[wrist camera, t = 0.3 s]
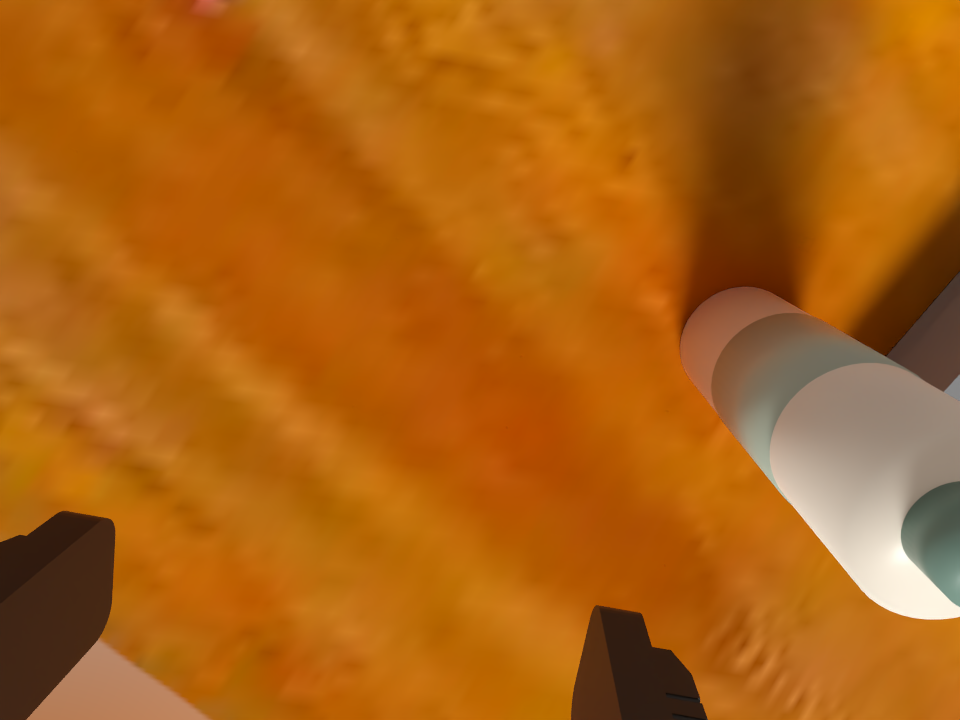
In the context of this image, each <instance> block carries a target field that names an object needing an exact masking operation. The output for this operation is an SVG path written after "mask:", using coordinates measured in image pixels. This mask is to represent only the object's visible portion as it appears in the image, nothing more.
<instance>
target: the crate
mask: <svg viewBox="0 0 960 720" xmlns="http://www.w3.org/2000/svg"><path fill="white" fill-rule="evenodd" d="M886 357H887V358H889V359H890V360H892V361H894V362H896V363H897V364H899V365H901V366H903V367H904V368H906V369H908V370H910V371H911V372H913V373H915V374H916V375H918V376H919V377H920V378H921V379H923V380H924V381H925V382H927V383H929V384H930V385H932V386H934V387H936V388H937V389H939V390H941V391H943V392H944V393H946V394H948V395H949V396H951V397H953V398H955V399H956V400H958V401H960V272H959V273H958V274H957V275H956V276H955V278H954V279H953V280H952V281H951V282H950V283H949V284H948V286H947V287H946V288H945V289H944V290H943V291H942V293H941V294H940V295H939V296H938V297H937V298H936V300H935V301H934V302H933V303H932V304H931V305H930V306H929V308H928V309H927V310H926V311H925V312H924V313H923V315H922V316H921V317H920V318H919V319H918V320H917V321H916V323H915V324H914V325H913V326H912V327H911V328H910V330H909V331H908V332H907V333H906V334H905V335H904V336H903V338H902V339H901V340H900V341H899V342H898V343H897V345H896V346H895V347H894V348H893V349H892V350H891V351H890V353H889V354H888V355H887V356H886Z"/></svg>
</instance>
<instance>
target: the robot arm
mask: <svg viewBox="0 0 960 720" xmlns="http://www.w3.org/2000/svg"><path fill="white" fill-rule="evenodd" d="M114 549H115V526H114V523H113V522H112V520H111V519H108V518H103V517H97V516H91V515H86V514H80V513H74V512H68V511H62V512H59V513H57V514H56V515H54V516H53V517H52V518H50V519H49V520H48V521H46V522H45V523H44V524H42V525H41V526H39V527H38V528H37V529H35V530H34V531H33V532H31V533H30V534H28V535H27V536H23V535H18V536H16V537H13V538H10V539H8V540H5V541H3V542H0V720H26V719H27V718H28V717H29V716H30V715H31V714H32V712H33V711H34V710H35V709H36V708H37V707H38V706H39V705H40V704H41V702H42V701H43V700H44V699H45V698H46V697H47V696H48V695H49V694H50V693H51V691H52V690H53V689H54V688H55V687H56V686H57V685H58V684H59V682H61V680H62V679H63V678H64V677H65V676H66V675H67V674H68V673H69V672H70V670H71V669H72V668H73V667H74V666H75V665H76V664H77V663H78V662H79V660H80V659H81V658H82V657H83V656H84V655H85V654H86V653H87V652H88V650H89V649H90V648H91V647H92V646H93V645H94V644H95V643H96V641H97V640H98V638H99V637H100V635H101V634H102V632H103V630H104V628H105V625H106V623H107V620H108V617H109V614H110V610H111V604H112V589H113V569H114ZM571 720H708V719H707V716H706V713H705V711H704V708H703V705H702V704H701V703H700V697H699V694H698V691H697V688H696V686H695V683H694V680H693V677H692V675H691V673H690V672H689V671H688V670H687V668H686V667H685V666H684V665H683V664H682V663H681V662H680V660H679V659H678V658H677V657H676V656H675V655H674V653H673V652H672V651H671V650H666V649H660V648H655V647H652V646H651V642H650V639H649V636H648V632H647V629H646V626H645V622H644V619H643V616H642V614H641V613H638V612H632V611H627V610H621V609H615V608H610V607H604V606H598V605H596V606H595V607H594V609H593V611H592V614H591V618H590V622H589V626H588V630H587V634H586V639H585V643H584V647H583V652H582V656H581V660H580V664H579V669H578V673H577V677H576V682H575V686H574V692H573V699H572V711H571Z"/></svg>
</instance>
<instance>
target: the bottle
mask: <svg viewBox="0 0 960 720" xmlns="http://www.w3.org/2000/svg"><path fill="white" fill-rule="evenodd" d="M680 357H681V362H682V365H683V368H684V370H685V372H686V374H687V376H688V377H689V379H690V380H691V381H692V383H693V384H694V385H695V386H696V388H697V389H698V390H699V391H700V392H701V394H702V395H703V396H704V397H705V399H706V400H707V401H708V402H709V404H710V405H711V406H712V407H713V408H714V410H715V411H716V412H717V413H718V415H719V417H720V418H721V420H722V421H723V423H724V424H725V425H726V426H727V428H728V429H729V430H730V431H731V433H732V434H733V435H734V436H735V438H736V439H737V440H738V441H739V442H740V444H741V445H742V446H743V447H744V449H745V450H746V451H747V452H748V454H749V455H750V456H751V457H752V458H753V460H754V461H755V462H756V463H757V465H758V466H759V467H760V468H761V470H762V471H763V472H764V473H765V475H766V476H767V477H768V478H769V479H770V481H771V482H772V483H773V484H774V486H775V487H776V488H777V489H778V491H779V492H780V493H781V494H782V496H783V497H784V498H785V499H786V500H787V501H788V502H789V503H790V504H792V505H793V507H794V508H795V509H796V510H797V511H798V513H799V514H800V515H801V516H802V518H803V519H804V520H805V521H806V522H807V524H808V525H809V526H810V527H811V529H812V530H813V531H814V532H815V533H816V535H817V536H818V537H819V538H820V540H821V541H822V542H823V543H824V545H825V546H826V547H827V548H828V549H829V551H830V552H831V553H832V554H833V556H834V557H835V558H836V559H837V560H838V562H839V563H840V564H841V565H842V567H843V568H844V569H845V570H846V572H847V573H848V574H849V575H850V576H851V578H852V579H853V580H854V581H855V583H856V584H857V585H858V586H859V587H860V589H861V590H862V591H863V592H864V593H865V594H866V595H867V596H868V597H869V598H870V599H872V600H873V601H874V602H876V603H877V604H879V605H880V606H882V607H884V608H886V609H888V610H890V611H892V612H895V613H898V614H900V615H904V616H908V617H913V618H920V619H948V618H956V617H960V401H958V400H956V399H955V398H953V397H951V396H949V395H948V394H946V393H944V392H943V391H941V390H939V389H937V388H936V387H934V386H932V385H930V384H929V383H927V382H925V381H924V380H923V379H921V378H920V377H919V376H918V375H916V374H915V373H913V372H911V371H910V370H908V369H906V368H904V367H903V366H901V365H899V364H897V363H896V362H894V361H892V360H890V359H889V358H887V357H885V356H883V355H882V354H880V353H878V352H876V351H875V350H873V349H871V348H870V347H868V346H866V345H864V344H863V343H861V342H859V341H857V340H856V339H854V338H852V337H850V336H849V335H847V334H845V333H843V332H842V331H840V330H838V329H836V328H835V327H833V326H831V325H829V324H828V323H826V322H824V321H822V320H821V319H818V318H816V317H813V316H811V315H809V314H808V313H806V312H804V311H802V310H801V309H799V308H797V307H796V306H794V305H792V304H790V303H789V302H787V301H785V300H783V299H782V298H780V297H778V296H777V295H775V294H773V293H771V292H769V291H767V290H764V289H760V288H756V287H735V288H730V289H727V290H724V291H721V292H719V293H717V294H715V295H713V296H711V297H710V298H708V299H707V300H705V301H704V302H703V303H702V304H701V305H699V306H698V307H697V309H696V310H695V311H694V312H693V313H692V315H691V316H690V318H689V319H688V321H687V323H686V325H685V327H684V330H683V332H682V336H681V341H680Z"/></svg>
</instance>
